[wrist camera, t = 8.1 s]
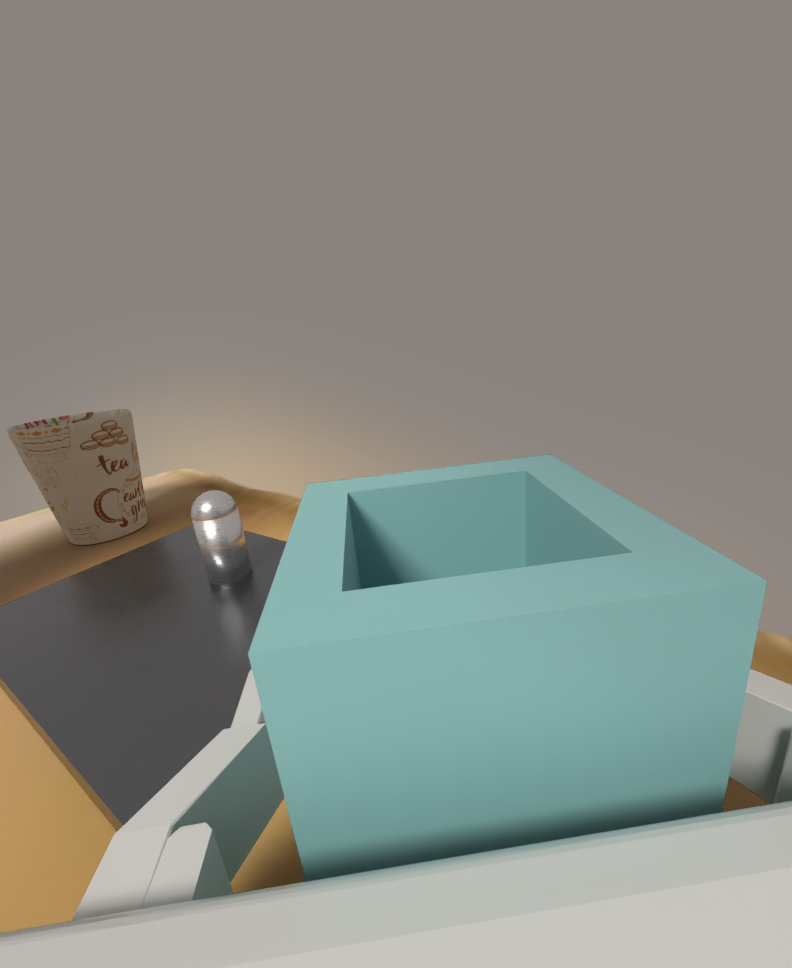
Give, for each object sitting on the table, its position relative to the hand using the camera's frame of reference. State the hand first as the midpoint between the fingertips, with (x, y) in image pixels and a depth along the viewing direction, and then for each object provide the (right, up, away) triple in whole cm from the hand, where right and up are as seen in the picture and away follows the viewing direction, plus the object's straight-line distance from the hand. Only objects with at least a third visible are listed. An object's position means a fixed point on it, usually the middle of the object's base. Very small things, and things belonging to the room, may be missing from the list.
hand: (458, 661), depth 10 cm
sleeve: (+1, -6, +1) cm, 6 cm away
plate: (-13, -3, +14) cm, 20 cm away
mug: (-29, 0, +30) cm, 41 cm away
